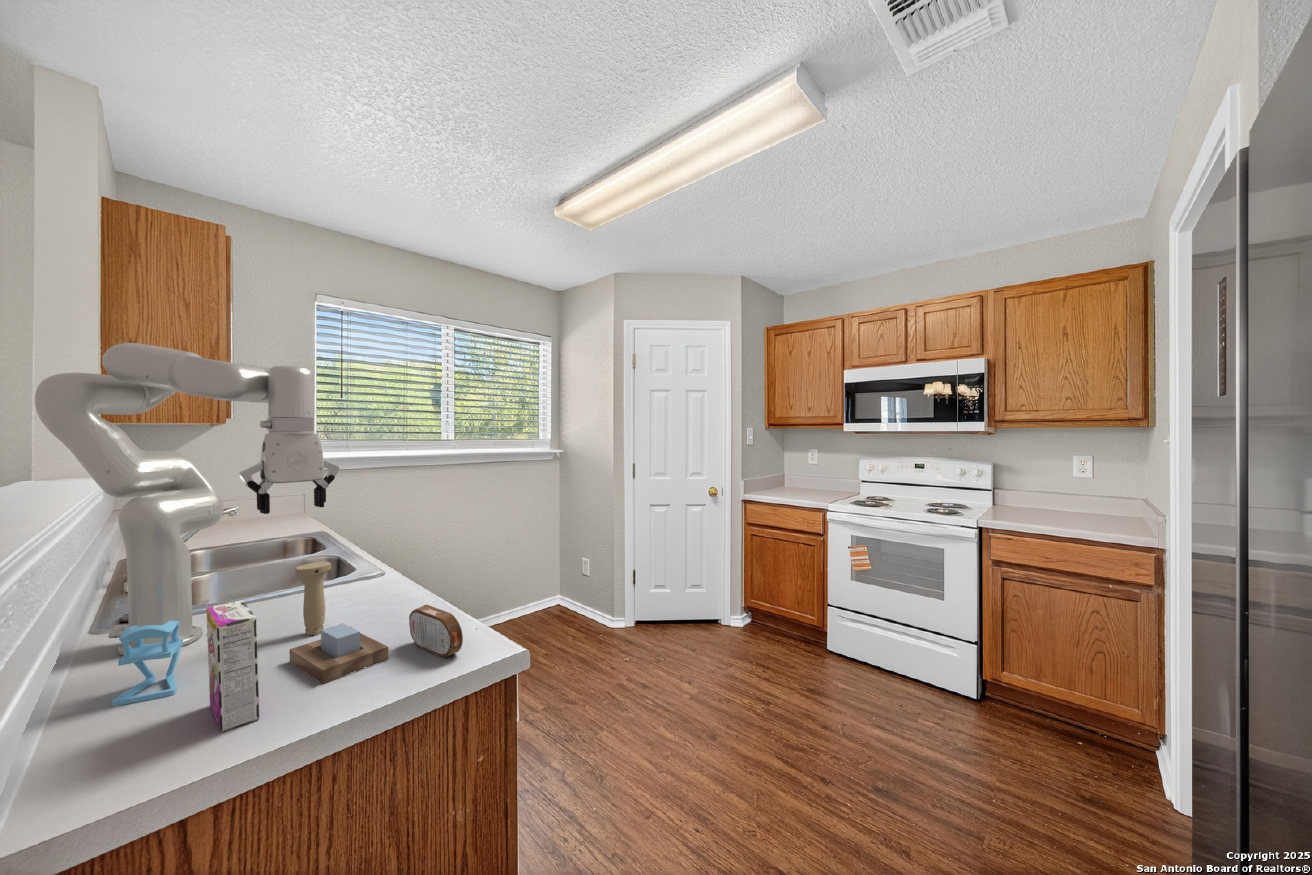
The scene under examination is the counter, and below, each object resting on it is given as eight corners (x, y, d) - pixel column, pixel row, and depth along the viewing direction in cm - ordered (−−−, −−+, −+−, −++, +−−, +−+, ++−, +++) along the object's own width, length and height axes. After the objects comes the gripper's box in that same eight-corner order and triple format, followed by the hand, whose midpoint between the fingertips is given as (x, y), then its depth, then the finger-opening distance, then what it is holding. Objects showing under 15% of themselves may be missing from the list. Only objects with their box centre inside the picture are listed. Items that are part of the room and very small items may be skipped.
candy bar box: (206, 706, 82) (204, 606, 81) (246, 694, 86) (244, 598, 85) (218, 735, 74) (216, 625, 74) (260, 720, 78) (258, 615, 78)
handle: (334, 631, 111) (333, 564, 111) (299, 641, 107) (298, 570, 106) (328, 625, 115) (327, 560, 114) (294, 634, 110) (293, 566, 109)
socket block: (322, 684, 89) (322, 663, 89) (289, 661, 97) (289, 642, 97) (388, 659, 98) (388, 640, 98) (353, 640, 107) (352, 623, 107)
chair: (190, 674, 93) (189, 609, 92) (174, 695, 85) (173, 624, 85) (132, 684, 89) (131, 617, 89) (110, 707, 82) (109, 633, 81)
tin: (464, 657, 99) (464, 615, 99) (450, 663, 97) (449, 620, 97) (420, 639, 108) (420, 600, 108) (406, 644, 105) (405, 604, 105)
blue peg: (337, 670, 94) (337, 638, 94) (321, 660, 98) (320, 629, 98) (360, 662, 97) (359, 631, 97) (343, 652, 101) (343, 623, 101)
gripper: (246, 427, 94) (247, 518, 95) (345, 426, 108) (346, 506, 109) (232, 426, 98) (234, 514, 99) (329, 426, 113) (330, 502, 113)
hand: (293, 509), depth 104 cm, fingers open, 9 cm apart
